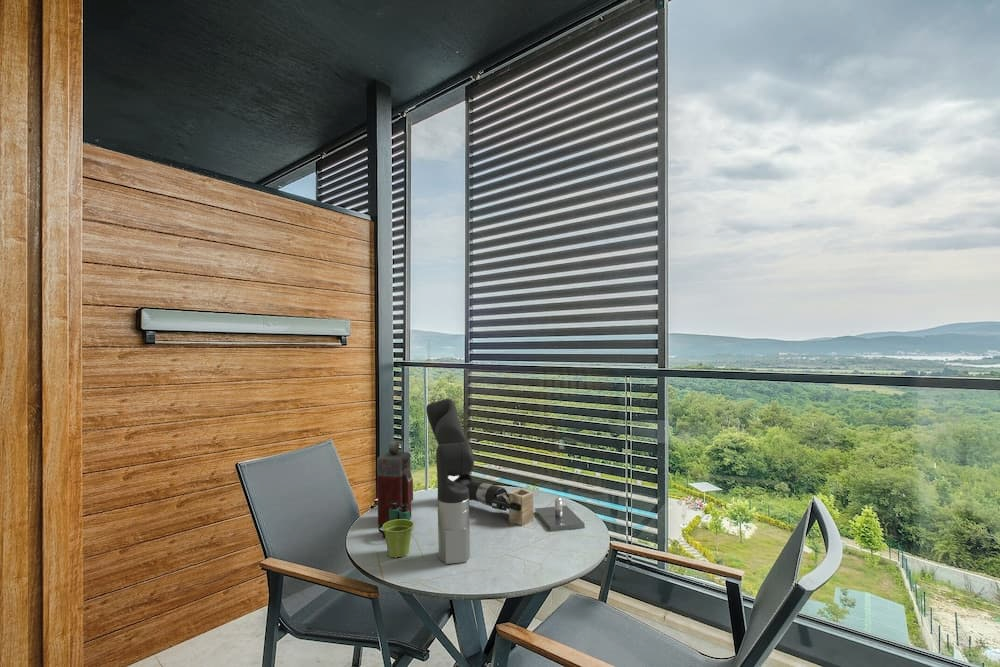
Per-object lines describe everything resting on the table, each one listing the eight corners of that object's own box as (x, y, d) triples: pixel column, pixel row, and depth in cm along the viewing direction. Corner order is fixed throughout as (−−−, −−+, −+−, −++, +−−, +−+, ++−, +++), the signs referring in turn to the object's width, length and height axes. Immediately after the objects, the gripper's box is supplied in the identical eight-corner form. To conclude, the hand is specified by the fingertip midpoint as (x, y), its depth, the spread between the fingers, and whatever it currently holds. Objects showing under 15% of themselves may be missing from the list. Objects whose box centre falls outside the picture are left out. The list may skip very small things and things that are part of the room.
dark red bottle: (408, 526, 170) (406, 444, 170) (377, 524, 172) (376, 443, 173) (417, 517, 179) (416, 439, 179) (388, 515, 181) (387, 438, 181)
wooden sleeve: (533, 520, 174) (533, 492, 174) (522, 525, 169) (521, 496, 169) (520, 516, 178) (520, 488, 178) (509, 521, 173) (508, 492, 173)
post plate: (584, 527, 167) (584, 504, 167) (550, 531, 164) (549, 507, 164) (566, 509, 184) (566, 488, 184) (535, 512, 182) (534, 491, 182)
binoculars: (372, 510, 160) (394, 497, 168) (375, 541, 160) (397, 528, 169) (392, 514, 155) (414, 502, 163) (395, 547, 156) (417, 533, 164)
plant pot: (420, 550, 152) (420, 521, 152) (402, 563, 143) (401, 533, 143) (395, 545, 156) (395, 517, 156) (375, 557, 147) (375, 528, 147)
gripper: (477, 489, 178) (512, 500, 167) (504, 480, 189) (539, 489, 177) (477, 510, 178) (512, 522, 167) (504, 500, 189) (539, 510, 177)
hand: (526, 505), depth 172 cm, fingers closed on wooden sleeve, 6 cm apart
